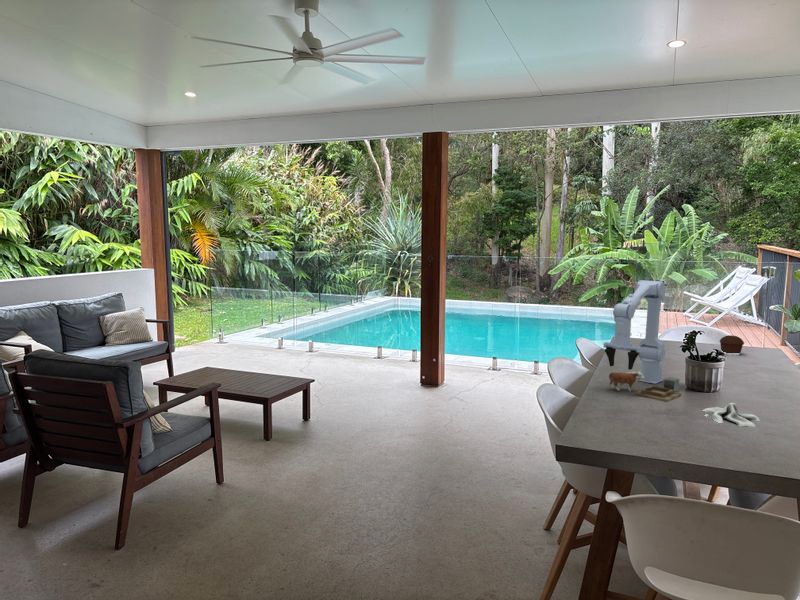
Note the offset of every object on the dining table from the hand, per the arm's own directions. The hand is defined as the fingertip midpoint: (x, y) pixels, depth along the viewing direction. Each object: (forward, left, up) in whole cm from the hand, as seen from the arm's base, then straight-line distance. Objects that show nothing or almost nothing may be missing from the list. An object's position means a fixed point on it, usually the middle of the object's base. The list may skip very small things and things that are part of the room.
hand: (620, 367), depth 229 cm
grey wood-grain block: (-18, +13, -10) cm, 24 cm away
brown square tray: (-7, +12, -10) cm, 17 cm away
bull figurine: (-5, 0, -10) cm, 12 cm away
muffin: (-122, +4, -10) cm, 123 cm away
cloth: (+5, +41, -11) cm, 43 cm away
